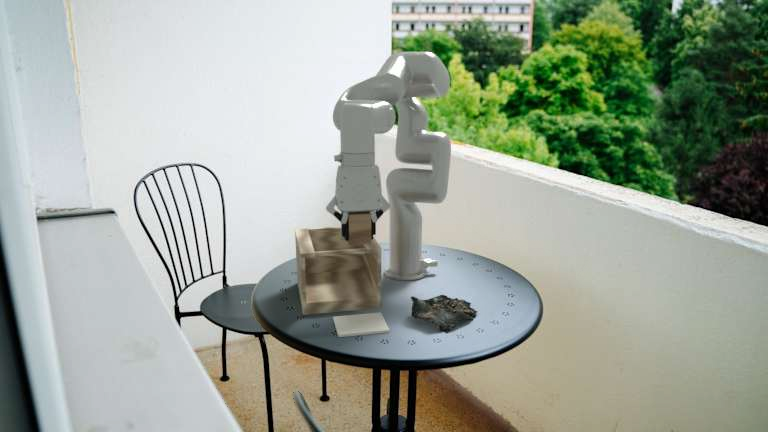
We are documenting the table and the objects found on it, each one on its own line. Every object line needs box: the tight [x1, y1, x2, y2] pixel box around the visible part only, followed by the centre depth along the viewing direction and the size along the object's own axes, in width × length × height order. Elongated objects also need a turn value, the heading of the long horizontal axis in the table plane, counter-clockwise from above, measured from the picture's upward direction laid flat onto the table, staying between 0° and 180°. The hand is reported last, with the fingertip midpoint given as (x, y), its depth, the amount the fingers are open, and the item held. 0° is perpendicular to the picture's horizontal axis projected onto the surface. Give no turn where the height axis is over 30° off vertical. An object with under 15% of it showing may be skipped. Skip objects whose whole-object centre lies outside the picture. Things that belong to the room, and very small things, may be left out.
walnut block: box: [347, 211, 371, 245], centre depth 132 cm, size 5×5×7 cm
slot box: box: [294, 226, 383, 316], centre depth 155 cm, size 20×22×16 cm
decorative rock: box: [410, 294, 478, 334], centre depth 144 cm, size 19×6×15 cm
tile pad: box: [332, 312, 390, 338], centre depth 139 cm, size 12×10×1 cm
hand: (358, 237), depth 133 cm, fingers closed on walnut block, 5 cm apart
